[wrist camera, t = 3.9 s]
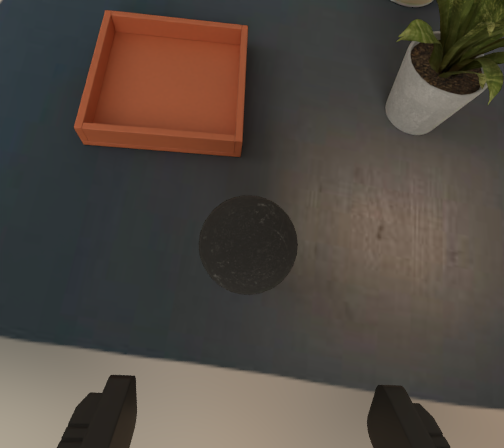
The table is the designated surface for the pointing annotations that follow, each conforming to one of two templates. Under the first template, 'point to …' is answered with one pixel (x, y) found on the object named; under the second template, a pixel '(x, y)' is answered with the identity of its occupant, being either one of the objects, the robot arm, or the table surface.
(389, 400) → the robot arm
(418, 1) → the coffee cup
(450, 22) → the house plant
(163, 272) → the table surface
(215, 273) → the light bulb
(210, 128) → the terracotta tray
